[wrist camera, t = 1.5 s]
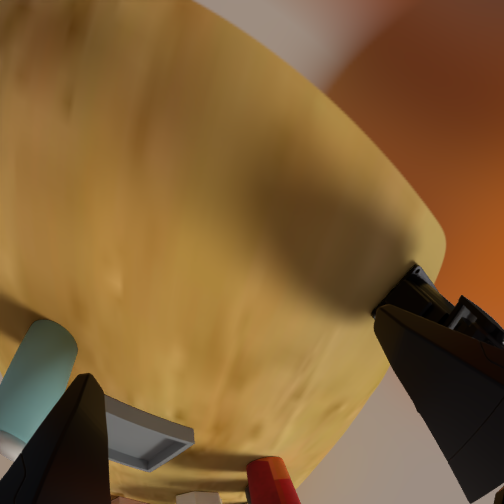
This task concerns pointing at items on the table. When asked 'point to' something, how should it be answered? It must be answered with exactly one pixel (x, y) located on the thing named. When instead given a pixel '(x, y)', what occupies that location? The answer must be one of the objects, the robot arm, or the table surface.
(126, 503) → the pastry plate
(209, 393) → the table surface
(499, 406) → the robot arm
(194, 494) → the jar
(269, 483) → the paper cup
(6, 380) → the pepper mill
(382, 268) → the table surface
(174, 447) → the tray
